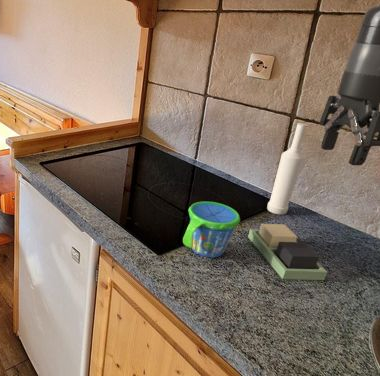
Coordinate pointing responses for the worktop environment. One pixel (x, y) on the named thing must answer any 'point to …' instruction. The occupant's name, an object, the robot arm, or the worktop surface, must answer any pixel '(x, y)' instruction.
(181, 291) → the worktop surface
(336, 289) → the worktop surface
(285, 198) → the bottle
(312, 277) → the frame
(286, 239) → the foam pad
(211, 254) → the snack cup
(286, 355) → the worktop surface
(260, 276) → the worktop surface
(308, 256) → the dark gray block
